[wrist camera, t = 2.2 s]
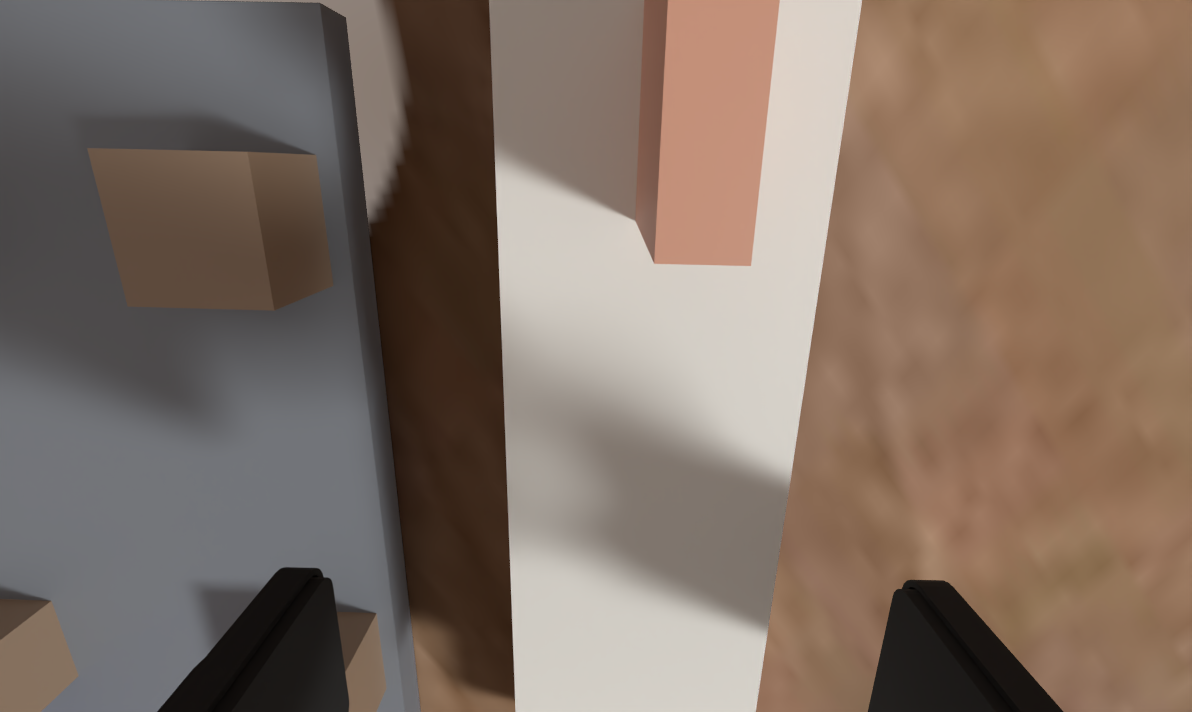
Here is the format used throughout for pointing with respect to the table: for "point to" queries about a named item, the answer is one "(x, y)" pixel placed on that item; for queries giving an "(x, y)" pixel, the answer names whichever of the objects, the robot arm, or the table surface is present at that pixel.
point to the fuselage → (657, 330)
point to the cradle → (185, 348)
